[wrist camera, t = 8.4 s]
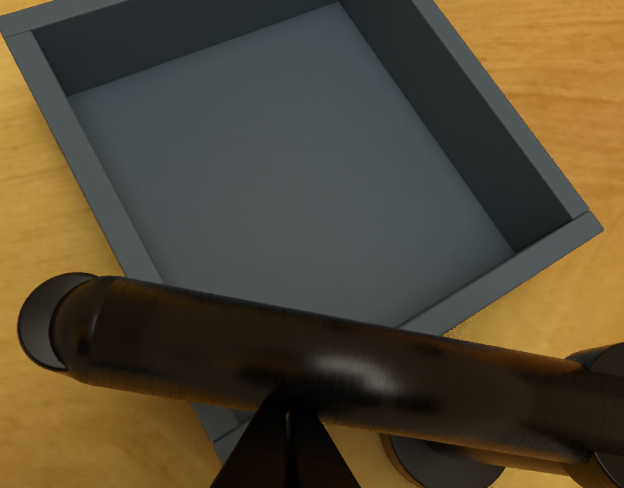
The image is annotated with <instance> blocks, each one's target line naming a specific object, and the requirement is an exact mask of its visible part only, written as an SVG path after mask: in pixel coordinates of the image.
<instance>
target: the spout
mask: <svg viewBox="0 0 624 488" xmlns="http://www.w3.org/2000/svg"><path fill="white" fill-rule="evenodd" d="M17 334H18V339H19V343H20V345H21V347H22V349H23V351H24V353H25V354H26V355H27V356H28V358H29V359H30V360H31V361H33V362H34V363H35V364H37V365H38V366H40V367H42V368H44V369H47V370H50V371H53V372H56V373H59V374H62V375H65V376H68V377H71V378H73V379H75V380H77V381H79V382H81V383H85V384H88V385H92V386H98V387H104V388H110V389H116V390H122V391H129V392H135V393H141V394H147V395H153V396H159V397H165V398H171V399H178V400H184V401H190V402H196V403H202V404H208V405H214V406H220V407H227V408H233V409H239V410H245V411H251V412H256V411H257V410H258V408H259V406H260V405H262V404H266V405H272V406H278V407H283V408H284V409H285V411H286V417H288V415H289V413H290V412H291V411H292V410H301V411H307V412H313V413H315V414H317V416H318V417H319V419H320V421H321V422H322V423H325V424H331V425H337V426H343V427H349V428H355V429H361V430H368V431H374V432H380V433H386V434H392V435H398V436H404V437H411V438H417V439H423V440H429V441H435V442H441V443H447V444H453V445H460V446H466V447H472V448H478V449H484V450H490V451H496V452H502V453H509V454H515V455H521V456H527V457H533V458H539V459H545V460H551V461H558V462H559V464H560V465H561V466H562V468H563V469H564V470H565V471H566V473H567V474H568V475H569V476H570V477H571V478H572V479H573V480H574V481H575V482H576V483H578V484H579V485H580V486H582V487H583V488H624V342H622V343H616V344H612V345H607V346H602V347H597V348H592V349H587V350H582V351H579V352H576V353H573V354H571V355H570V356H568V357H566V358H565V359H560V358H554V357H549V356H543V355H538V354H533V353H527V352H522V351H517V350H511V349H506V348H501V347H495V346H490V345H485V344H479V343H474V342H469V341H463V340H458V339H453V338H447V337H442V336H437V335H431V334H426V333H421V332H415V331H410V330H405V329H399V328H394V327H389V326H383V325H378V324H372V323H367V322H362V321H356V320H351V319H346V318H340V317H335V316H330V315H324V314H319V313H314V312H308V311H303V310H298V309H292V308H287V307H282V306H276V305H271V304H266V303H260V302H255V301H250V300H244V299H239V298H234V297H228V296H223V295H218V294H212V293H207V292H201V291H196V290H191V289H185V288H180V287H175V286H169V285H164V284H159V283H153V282H148V281H143V280H137V279H132V278H127V277H121V276H100V277H98V276H96V275H93V274H89V273H83V272H72V273H65V274H61V275H58V276H55V277H53V278H51V279H49V280H47V281H45V282H43V283H42V284H41V285H39V286H38V287H37V288H36V289H35V290H34V291H33V292H32V293H31V294H30V295H29V296H28V298H27V299H26V300H25V302H24V304H23V306H22V308H21V310H20V313H19V316H18V322H17Z"/></svg>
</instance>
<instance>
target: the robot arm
mask: <svg viewBox="0 0 624 488" xmlns="http://www.w3.org/2000/svg"><path fill="white" fill-rule="evenodd" d="M210 488H361V487H360V486H359V484H358V482H357V481H356V479H355V477H354V476H353V474H352V472H351V471H350V469H349V467H348V466H347V464H346V462H345V461H344V459H343V457H342V456H341V454H340V452H339V451H338V449H337V447H336V446H335V444H334V442H333V441H332V439H331V437H330V436H329V434H328V432H327V431H326V429H325V427H324V426H323V424H322V422H321V421H320V419H319V417H318V416H317V414H315V413H313V412H307V411H301V410H292V411H291V412H290V413H289V415H288V418H287V422H286V411H285V409H284V408H283V407H278V406H272V405H266V404H262V405H260V406H259V408H258V410H257V411H256V413H255V414H254V416H253V418H252V419H251V421H250V423H249V424H248V426H247V427H246V429H245V431H244V432H243V434H242V436H241V437H240V439H239V440H238V442H237V444H236V445H235V447H234V449H233V450H232V452H231V453H230V455H229V457H228V458H227V460H226V462H225V463H224V465H223V466H222V468H221V470H220V471H219V473H218V475H217V476H216V478H215V479H214V481H213V483H212V484H211V486H210Z"/></svg>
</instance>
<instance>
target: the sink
mask: <svg viewBox="0 0 624 488" xmlns="http://www.w3.org/2000/svg"><path fill="white" fill-rule="evenodd" d="M0 32H1V34H2V36H3V38H4V40H5V42H6V44H7V46H8V48H9V50H10V52H11V54H12V56H13V58H14V60H15V62H16V64H17V66H18V68H19V70H20V71H21V73H22V75H23V77H24V79H25V81H26V83H27V85H28V87H29V89H30V91H31V93H32V95H33V97H34V99H35V101H36V103H37V105H38V107H39V109H40V110H41V112H42V114H43V116H44V118H45V120H46V122H47V124H48V126H49V128H50V130H51V132H52V134H53V136H54V138H55V140H56V142H57V144H58V146H59V148H60V149H61V151H62V153H63V155H64V157H65V159H66V161H67V163H68V165H69V167H70V169H71V171H72V173H73V175H74V177H75V179H76V181H77V183H78V185H79V187H80V188H81V190H82V192H83V194H84V196H85V198H86V200H87V202H88V204H89V206H90V208H91V210H92V212H93V214H94V216H95V218H96V220H97V222H98V224H99V226H100V227H101V229H102V231H103V233H104V235H105V237H106V239H107V241H108V243H109V245H110V247H111V249H112V251H113V253H114V255H115V257H116V259H117V261H118V263H119V265H120V266H121V268H122V270H123V272H124V274H125V276H126V277H127V278H132V279H137V280H143V281H148V282H153V283H159V284H164V285H169V286H175V287H180V288H185V289H191V290H196V291H201V292H207V293H212V294H218V295H223V296H228V297H234V298H239V299H244V300H250V301H255V302H260V303H266V304H271V305H276V306H282V307H287V308H292V309H298V310H303V311H308V312H314V313H319V314H324V315H330V316H335V317H340V318H346V319H351V320H356V321H362V322H367V323H372V324H378V325H383V326H389V327H394V328H399V329H405V330H410V331H415V332H421V333H426V334H431V335H437V336H442V335H443V334H445V333H446V332H448V331H449V330H451V329H453V328H454V327H456V326H457V325H459V324H460V323H462V322H463V321H465V320H466V319H468V318H470V317H471V316H473V315H474V314H476V313H477V312H479V311H480V310H482V309H484V308H485V307H487V306H488V305H490V304H491V303H493V302H494V301H496V300H497V299H499V298H501V297H502V296H504V295H505V294H507V293H508V292H510V291H511V290H513V289H514V288H516V287H518V286H519V285H521V284H522V283H524V282H525V281H527V280H528V279H530V278H532V277H533V276H535V275H536V274H538V273H539V272H541V271H542V270H544V269H545V268H547V267H549V266H550V265H552V264H553V263H555V262H556V261H558V260H559V259H561V258H562V257H564V256H566V255H567V254H569V253H570V252H572V251H573V250H575V249H576V248H578V247H580V246H581V245H583V244H584V243H586V242H587V241H589V240H590V239H592V238H593V237H595V236H597V235H598V234H600V233H601V232H603V230H604V228H603V226H602V225H601V224H600V222H599V221H598V220H597V218H596V217H595V216H594V214H593V213H592V212H591V211H588V210H589V207H588V206H587V204H586V203H585V202H584V200H583V199H582V198H581V196H580V195H579V194H578V193H577V191H576V190H575V189H574V187H573V186H572V185H571V183H570V182H569V181H568V179H567V178H566V177H565V175H564V174H563V173H562V171H561V170H560V169H559V167H558V166H557V165H556V163H555V162H554V161H553V159H552V158H551V157H550V155H549V154H548V153H547V151H546V150H545V149H544V147H543V146H542V145H541V143H540V142H539V141H538V139H537V138H536V137H535V135H534V134H533V133H532V131H531V130H530V129H529V127H528V126H527V125H526V123H525V122H524V121H523V119H522V118H521V117H520V115H519V114H518V113H517V111H516V110H515V109H514V107H513V106H512V105H511V103H510V102H509V101H508V99H507V98H506V97H505V95H504V94H503V93H502V91H501V90H500V89H499V87H498V86H497V85H496V83H495V82H494V81H493V79H492V78H491V77H490V75H489V74H488V73H487V71H486V70H485V69H484V67H483V66H482V65H481V63H480V62H479V61H478V59H477V58H476V57H475V55H474V54H473V53H472V51H471V50H470V49H469V47H468V46H467V45H466V43H465V42H464V41H463V39H462V38H461V37H460V35H459V34H458V33H457V31H456V30H455V29H454V27H453V26H452V25H451V23H450V22H449V21H448V19H447V18H446V17H445V15H444V14H443V13H442V11H441V10H440V9H439V7H438V6H437V5H436V3H435V2H434V1H433V0H54V1H50V2H47V3H44V4H40V5H37V6H33V7H30V8H26V9H23V10H20V11H16V12H13V13H9V14H6V15H2V16H0ZM190 403H191V405H192V407H193V409H194V411H195V413H196V415H197V417H198V419H199V420H200V422H201V424H202V426H203V428H204V430H205V432H206V434H207V436H208V438H209V440H210V441H211V442H213V448H214V450H215V452H216V454H217V456H218V458H219V459H220V461H221V463H222V465H224V463H225V462H226V460H227V458H228V457H229V455H230V453H231V452H232V450H233V449H234V447H235V445H236V444H237V442H238V440H239V439H240V437H241V436H242V434H243V432H244V431H245V429H246V427H247V426H248V424H249V423H250V421H251V419H252V418H253V416H254V414H255V413H256V412H251V411H245V410H239V409H233V408H227V407H220V406H214V405H208V404H202V403H196V402H190ZM287 418H288V417H286V422H287Z"/></svg>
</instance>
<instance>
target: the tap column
mask: <svg viewBox="0 0 624 488" xmlns="http://www.w3.org/2000/svg"><path fill="white" fill-rule="evenodd" d="M381 438H382V441H383V445H384V447H385V450H386V452H387V454H388V456H389V458H390V460H391V461H392V463H393V464H394V466H395V467H396V468H397V470H398V471H399V472H400V473H401V474H402V475H403V476H404V477H405V478H406V479H408V480H409V481H410V482H412V483H413V484H415V485H416V486H418V487H420V488H487V487H489V486H490V485H491V484H492V483H494V481H495V480H496V479H497V478H498V477H499V476H500V475H501V473H502V472H503V471H504V469H505V467H510V468H517V469H524V470H531V471H537V472H544V473H551V474H557V475H564V476H569V475H568V474H567V473H566V471H565V470H564V469H563V468H562V466H561V465H560V464H559V462H558V461H551V460H545V459H539V458H533V457H527V456H521V455H515V454H509V453H502V452H496V451H490V450H484V449H478V448H472V447H466V446H460V445H453V444H447V443H441V442H435V441H429V440H423V439H417V438H411V437H404V436H398V435H392V434H386V433H381Z"/></svg>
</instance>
